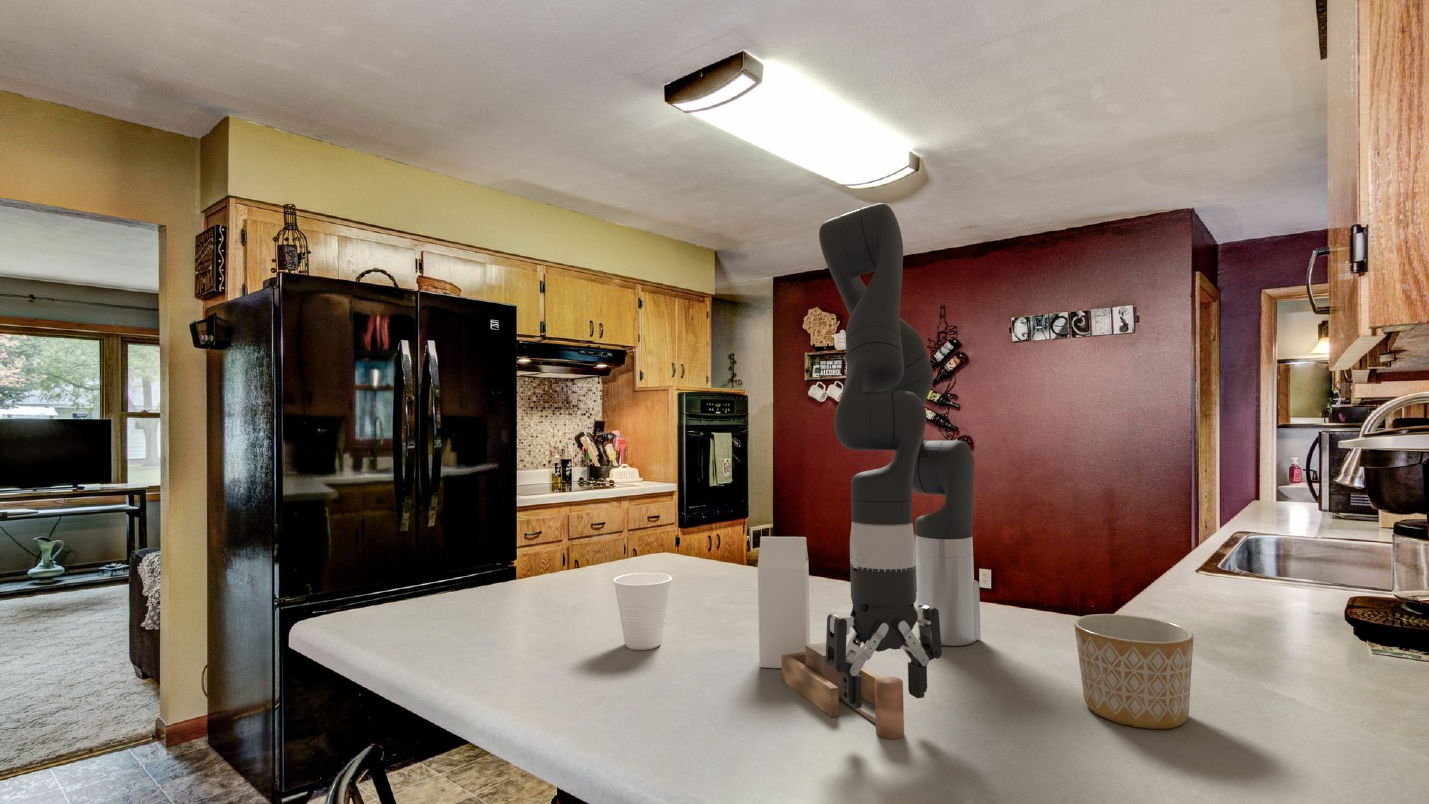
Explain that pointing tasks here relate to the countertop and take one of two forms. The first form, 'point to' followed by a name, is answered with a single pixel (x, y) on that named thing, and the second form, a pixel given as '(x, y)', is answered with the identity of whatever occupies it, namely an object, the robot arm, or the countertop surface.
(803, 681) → the frame
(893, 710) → the tethered walnut block
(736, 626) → the countertop surface
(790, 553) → the milk carton
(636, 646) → the cup
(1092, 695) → the planter
